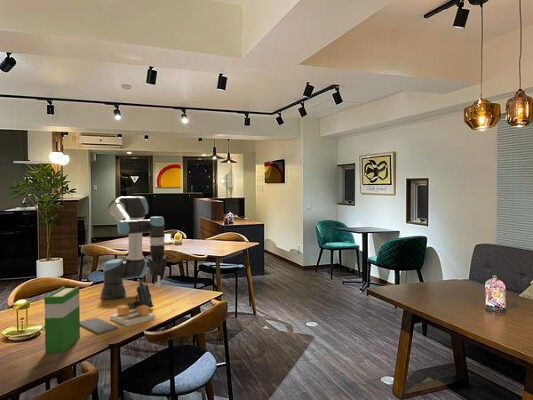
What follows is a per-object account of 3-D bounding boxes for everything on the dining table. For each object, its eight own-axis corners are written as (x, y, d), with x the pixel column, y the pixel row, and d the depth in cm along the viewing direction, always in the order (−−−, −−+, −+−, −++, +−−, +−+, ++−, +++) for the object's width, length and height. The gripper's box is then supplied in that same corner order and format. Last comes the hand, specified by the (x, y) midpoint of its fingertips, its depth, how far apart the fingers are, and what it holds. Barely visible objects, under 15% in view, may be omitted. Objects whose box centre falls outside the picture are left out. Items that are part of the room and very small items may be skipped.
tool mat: (77, 324, 203) (77, 322, 203) (96, 319, 211) (96, 317, 211) (98, 334, 189) (98, 332, 189) (117, 328, 196) (117, 326, 196)
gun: (124, 283, 233) (147, 277, 230) (131, 311, 233) (154, 306, 229) (122, 284, 230) (144, 279, 227) (129, 312, 230) (152, 307, 227)
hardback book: (63, 337, 185) (62, 286, 184) (79, 337, 186) (79, 286, 185) (45, 353, 167) (44, 297, 167) (63, 352, 168) (62, 296, 167)
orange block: (137, 313, 212) (137, 306, 212) (144, 312, 215) (143, 304, 215) (142, 315, 209) (142, 308, 209) (149, 314, 212) (149, 306, 212)
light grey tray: (110, 319, 211) (110, 315, 211) (137, 312, 223) (137, 308, 223) (127, 326, 200) (127, 322, 200) (154, 318, 212) (154, 314, 212)
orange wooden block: (117, 314, 212) (117, 306, 212) (124, 312, 215) (124, 304, 215) (122, 315, 209) (122, 308, 208) (129, 314, 212) (129, 306, 212)
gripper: (150, 246, 210) (151, 290, 211) (171, 244, 220) (171, 286, 221) (142, 245, 215) (143, 288, 216) (163, 242, 225) (163, 284, 226)
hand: (157, 287), depth 218 cm, fingers closed
